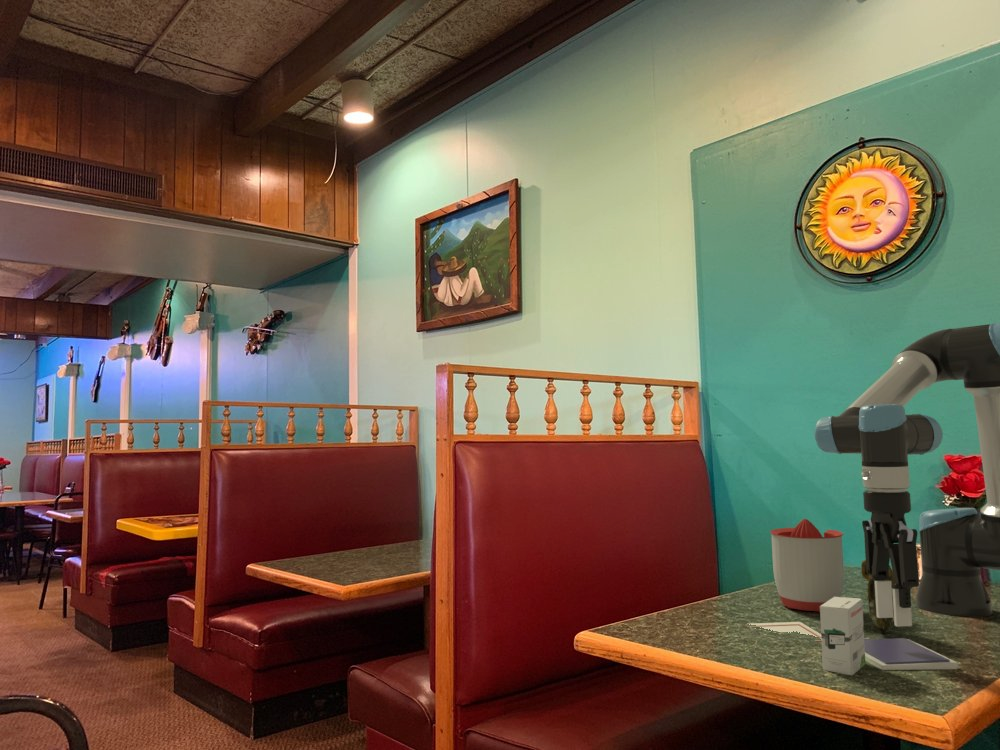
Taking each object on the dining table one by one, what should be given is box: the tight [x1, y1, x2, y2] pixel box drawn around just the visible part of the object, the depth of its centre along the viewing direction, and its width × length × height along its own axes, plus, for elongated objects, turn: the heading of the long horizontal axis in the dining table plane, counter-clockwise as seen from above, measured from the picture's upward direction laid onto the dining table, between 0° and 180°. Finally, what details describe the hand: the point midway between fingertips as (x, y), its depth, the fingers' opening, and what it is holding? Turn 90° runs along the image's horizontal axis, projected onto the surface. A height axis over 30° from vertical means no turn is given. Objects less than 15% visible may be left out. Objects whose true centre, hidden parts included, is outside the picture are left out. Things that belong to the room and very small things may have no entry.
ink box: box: [819, 596, 866, 676], centre depth 125 cm, size 9×5×12 cm, turn 140°
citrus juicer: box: [769, 518, 845, 613], centre depth 170 cm, size 16×17×20 cm
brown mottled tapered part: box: [861, 559, 895, 634], centre depth 148 cm, size 9×5×15 cm, turn 132°
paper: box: [746, 621, 822, 642], centre depth 147 cm, size 16×16×1 cm
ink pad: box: [864, 637, 959, 671], centre depth 131 cm, size 13×14×2 cm
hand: (893, 621), depth 131 cm, fingers open, 5 cm apart
